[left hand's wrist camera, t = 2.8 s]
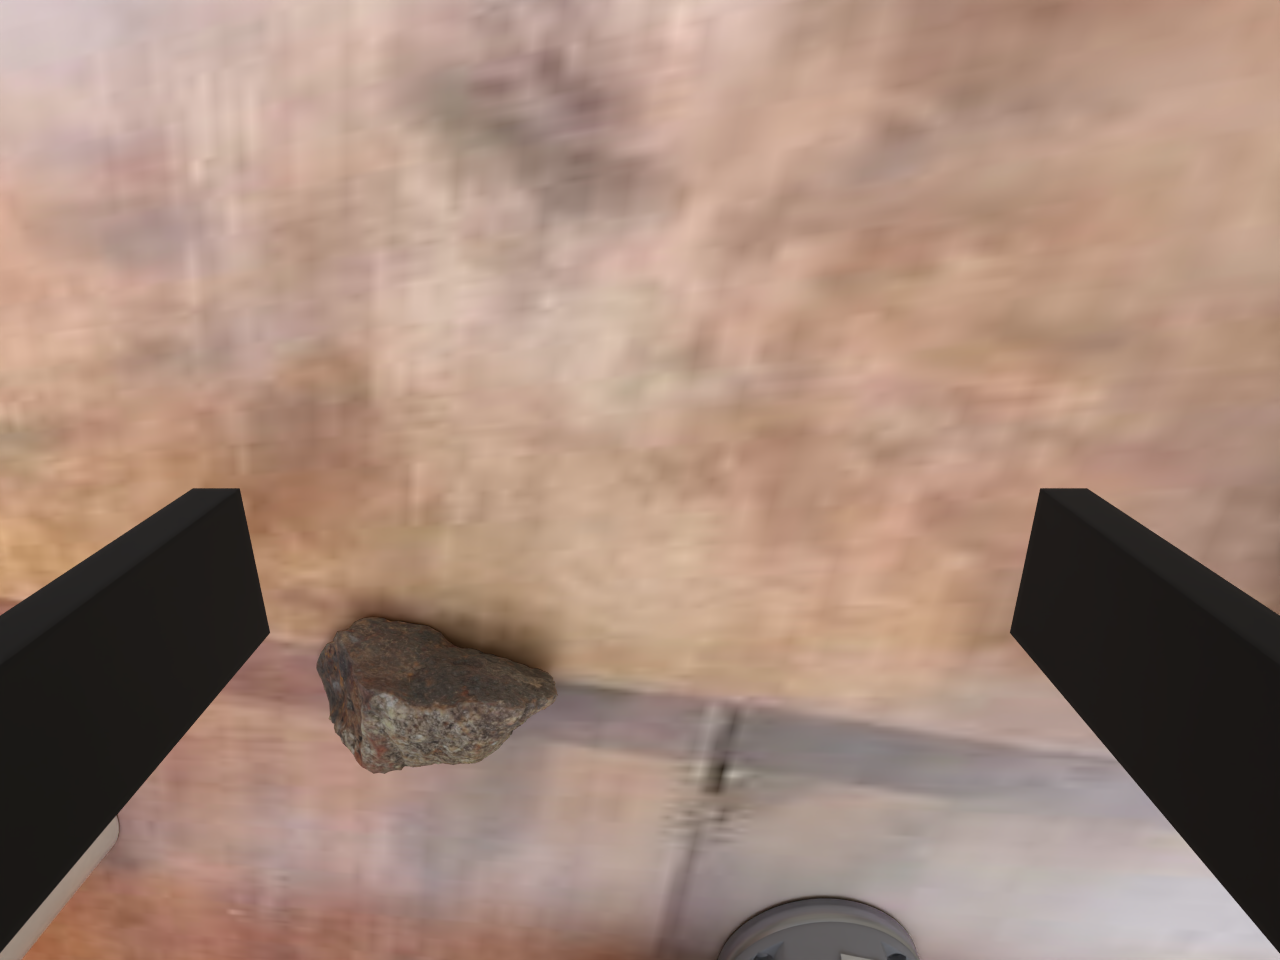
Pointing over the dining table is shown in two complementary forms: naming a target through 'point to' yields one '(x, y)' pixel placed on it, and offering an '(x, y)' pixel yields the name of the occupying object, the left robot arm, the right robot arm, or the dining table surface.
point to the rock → (423, 696)
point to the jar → (61, 894)
